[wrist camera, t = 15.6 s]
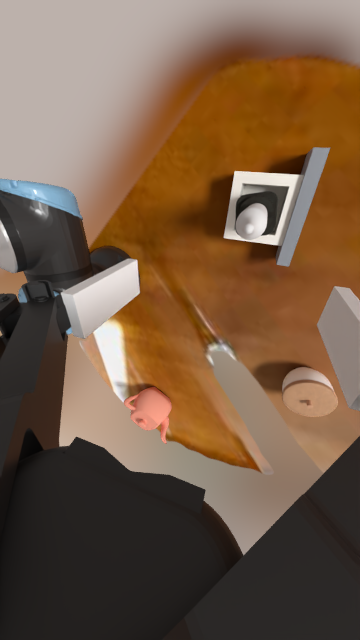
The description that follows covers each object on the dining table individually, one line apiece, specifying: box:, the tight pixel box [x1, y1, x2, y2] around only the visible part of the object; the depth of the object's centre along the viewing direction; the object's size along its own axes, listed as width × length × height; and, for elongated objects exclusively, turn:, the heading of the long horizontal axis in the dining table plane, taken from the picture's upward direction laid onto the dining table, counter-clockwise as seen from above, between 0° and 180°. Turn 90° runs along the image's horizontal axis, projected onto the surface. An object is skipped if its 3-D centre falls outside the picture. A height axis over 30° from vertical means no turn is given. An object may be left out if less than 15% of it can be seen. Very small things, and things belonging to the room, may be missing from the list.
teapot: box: [124, 387, 172, 444], centre depth 74 cm, size 13×20×12 cm, turn 51°
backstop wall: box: [276, 148, 330, 266], centre depth 35 cm, size 2×16×6 cm, turn 176°
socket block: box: [224, 171, 304, 246], centre depth 37 cm, size 10×10×5 cm
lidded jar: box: [282, 367, 338, 417], centre depth 50 cm, size 11×11×9 cm
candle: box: [235, 191, 278, 240], centre depth 28 cm, size 5×5×25 cm
